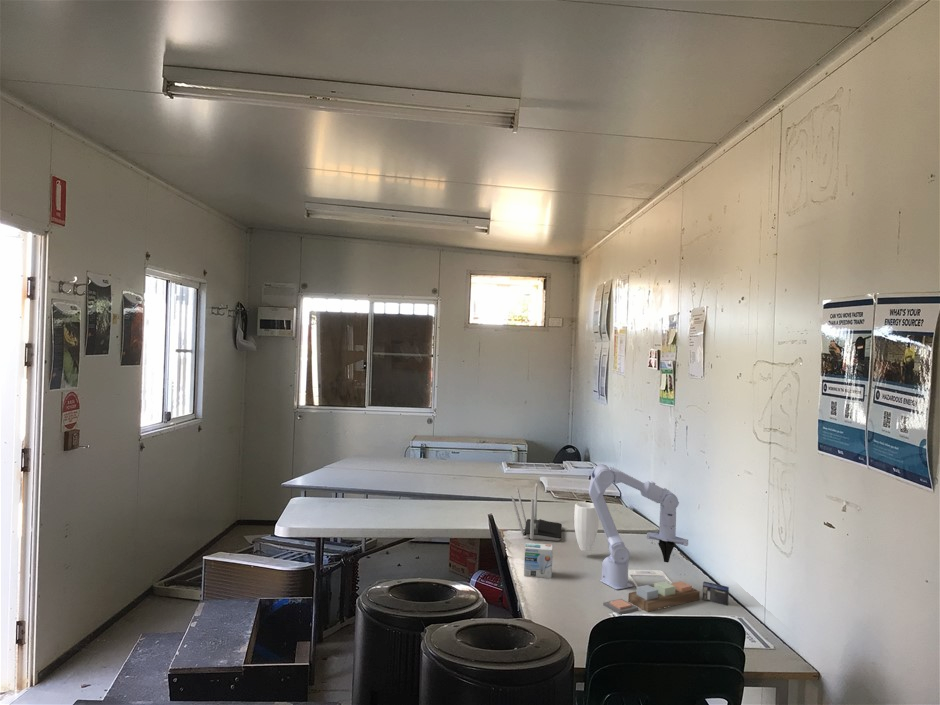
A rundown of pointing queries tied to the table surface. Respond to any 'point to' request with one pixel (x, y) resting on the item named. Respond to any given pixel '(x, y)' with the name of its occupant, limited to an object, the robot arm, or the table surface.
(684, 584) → the block terracotta
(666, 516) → the robot arm
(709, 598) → the mini dv tape
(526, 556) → the light bulb box
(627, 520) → the table surface
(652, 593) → the block slate
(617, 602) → the tile
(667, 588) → the block sage
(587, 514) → the cup
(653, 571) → the photo frame
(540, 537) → the wireless router
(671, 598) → the wooden block tray
